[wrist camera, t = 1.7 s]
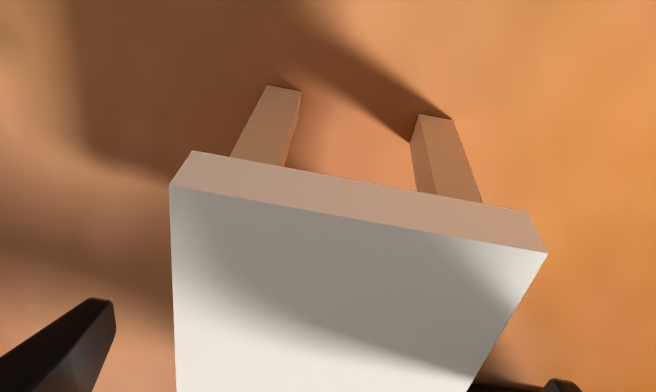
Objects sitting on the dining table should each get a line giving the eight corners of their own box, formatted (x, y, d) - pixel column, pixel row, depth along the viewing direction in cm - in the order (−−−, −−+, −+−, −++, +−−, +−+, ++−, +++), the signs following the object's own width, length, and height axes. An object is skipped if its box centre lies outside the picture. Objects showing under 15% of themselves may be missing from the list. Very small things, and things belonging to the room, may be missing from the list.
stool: (476, 107, 13) (548, 253, 8) (414, 270, 16) (434, 444, 11) (250, 64, 13) (168, 184, 7) (238, 239, 16) (177, 402, 11)
